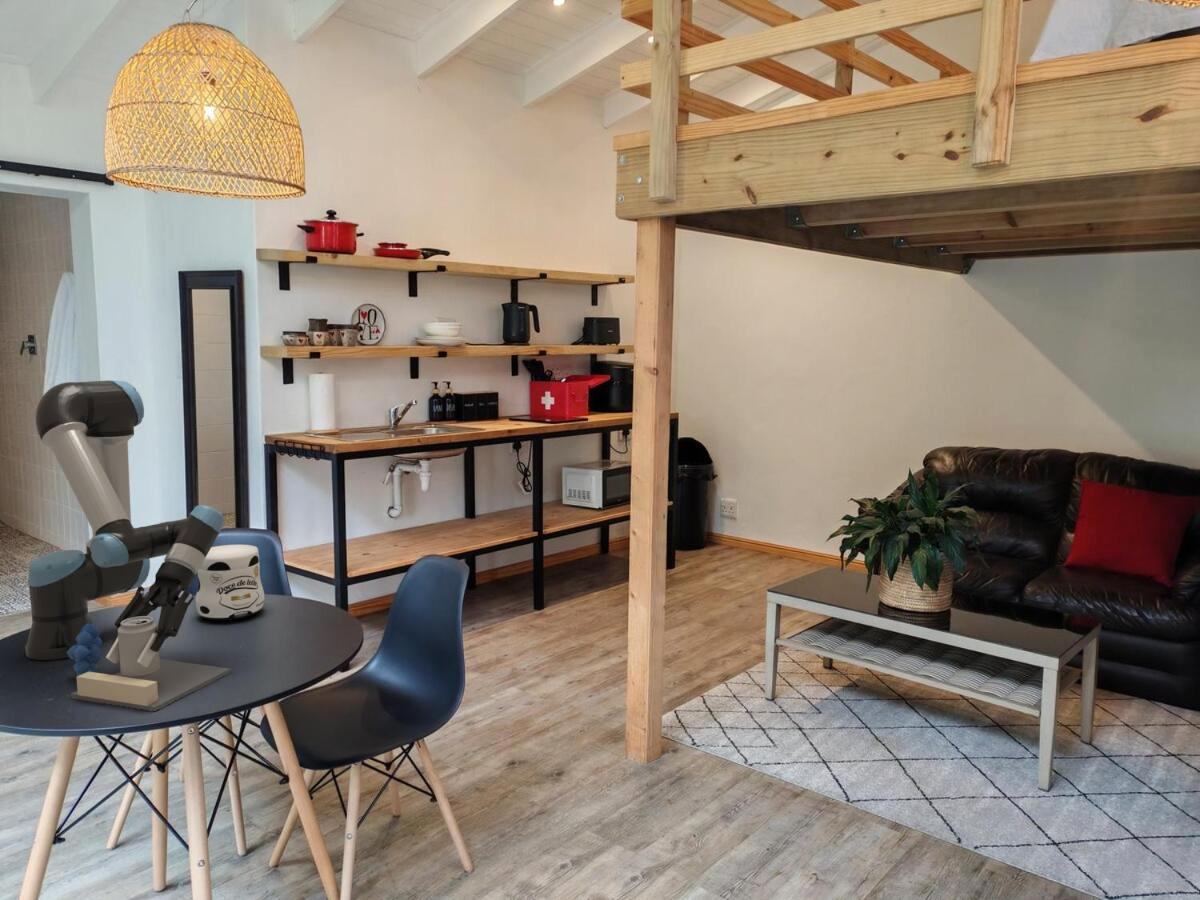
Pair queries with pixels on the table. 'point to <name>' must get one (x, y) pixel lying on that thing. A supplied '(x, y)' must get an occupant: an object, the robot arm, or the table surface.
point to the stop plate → (172, 682)
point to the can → (136, 646)
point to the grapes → (86, 649)
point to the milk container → (230, 583)
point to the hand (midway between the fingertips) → (126, 662)
